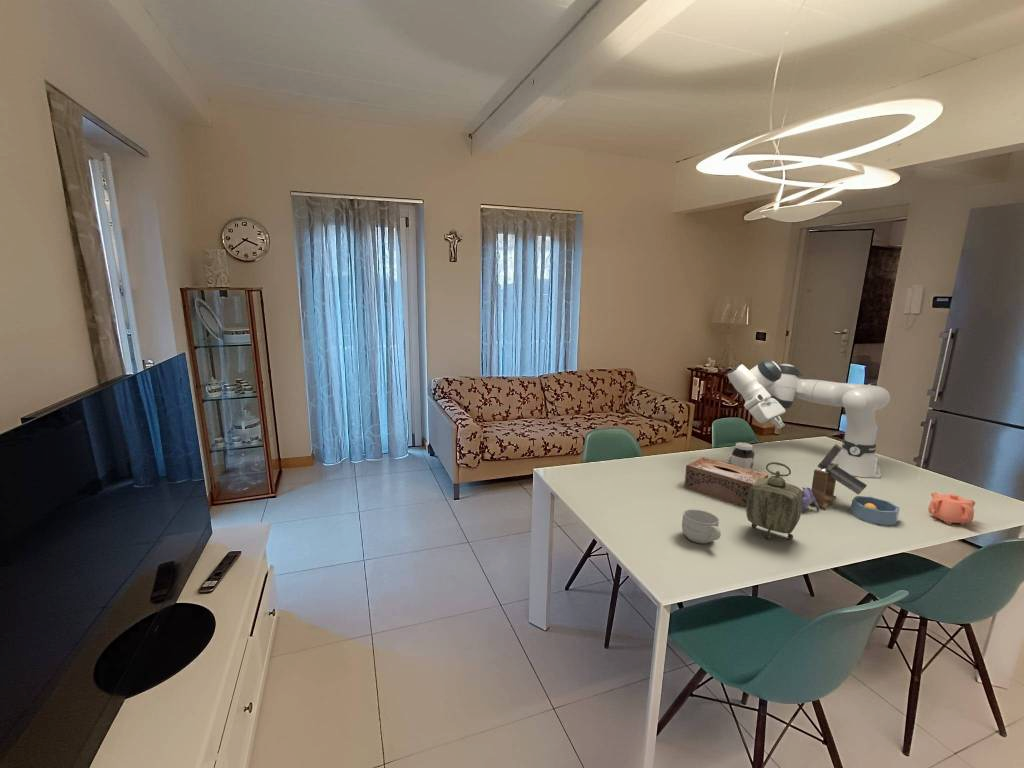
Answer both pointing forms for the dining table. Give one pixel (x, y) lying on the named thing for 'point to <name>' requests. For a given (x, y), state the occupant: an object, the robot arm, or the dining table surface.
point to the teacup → (700, 526)
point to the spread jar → (742, 456)
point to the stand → (823, 489)
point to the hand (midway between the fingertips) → (781, 427)
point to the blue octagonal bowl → (875, 511)
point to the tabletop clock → (774, 503)
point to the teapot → (951, 508)
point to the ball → (870, 506)
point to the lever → (840, 472)
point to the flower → (808, 499)
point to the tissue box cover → (721, 480)
